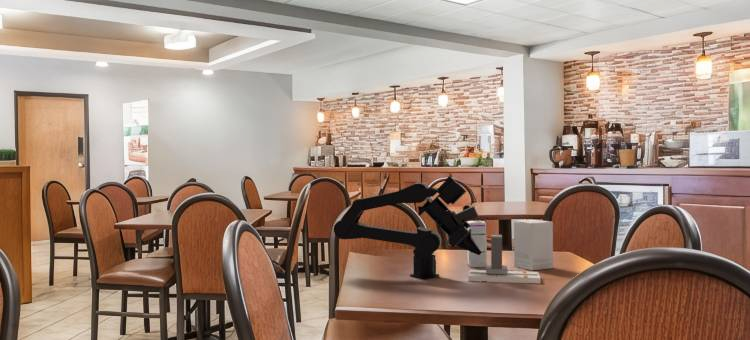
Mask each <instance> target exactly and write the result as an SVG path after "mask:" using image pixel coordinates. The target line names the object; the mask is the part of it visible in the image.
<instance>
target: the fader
mask: <svg viewBox="0 0 750 340" xmlns="http://www.w3.org/2000/svg"><path fill="white" fill-rule="evenodd" d="M490 244H491V246H490V249H491V250H490V256H491V257H490V264H487V265H486V267H485V270H486V273H493V274H507V271H508V265H503V235H502V234H490Z"/></svg>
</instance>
